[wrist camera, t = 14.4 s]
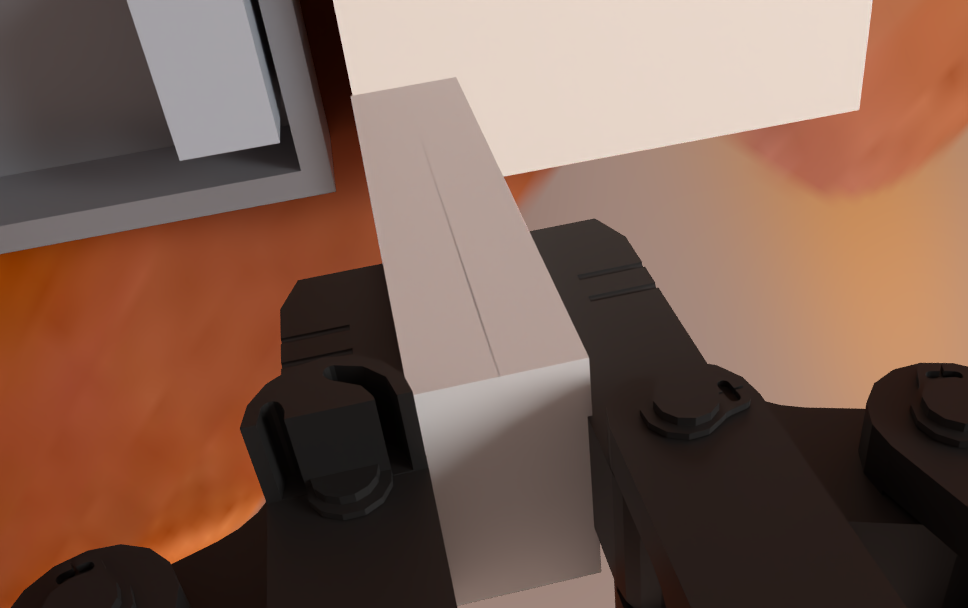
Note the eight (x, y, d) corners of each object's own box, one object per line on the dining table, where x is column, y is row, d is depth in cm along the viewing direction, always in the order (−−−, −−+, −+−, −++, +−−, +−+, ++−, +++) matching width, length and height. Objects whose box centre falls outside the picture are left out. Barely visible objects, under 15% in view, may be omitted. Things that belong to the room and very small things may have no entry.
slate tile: (235, -104, 24) (140, -89, 24) (225, -66, 20) (111, -48, 20) (280, 76, 27) (196, 91, 27) (280, 142, 23) (179, 160, 23)
